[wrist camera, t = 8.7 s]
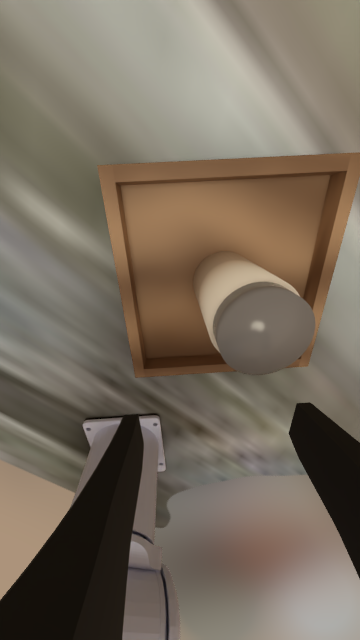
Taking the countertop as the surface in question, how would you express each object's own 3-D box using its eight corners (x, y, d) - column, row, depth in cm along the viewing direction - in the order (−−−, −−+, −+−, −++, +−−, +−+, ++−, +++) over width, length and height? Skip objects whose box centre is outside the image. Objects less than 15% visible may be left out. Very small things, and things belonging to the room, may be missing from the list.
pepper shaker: (248, 306, 17) (307, 374, 10) (193, 310, 17) (212, 381, 10) (254, 249, 15) (333, 281, 8) (192, 253, 15) (214, 289, 8)
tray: (295, 352, 20) (307, 366, 18) (138, 362, 20) (135, 377, 18) (339, 160, 13) (365, 152, 12) (107, 172, 13) (97, 165, 11)
